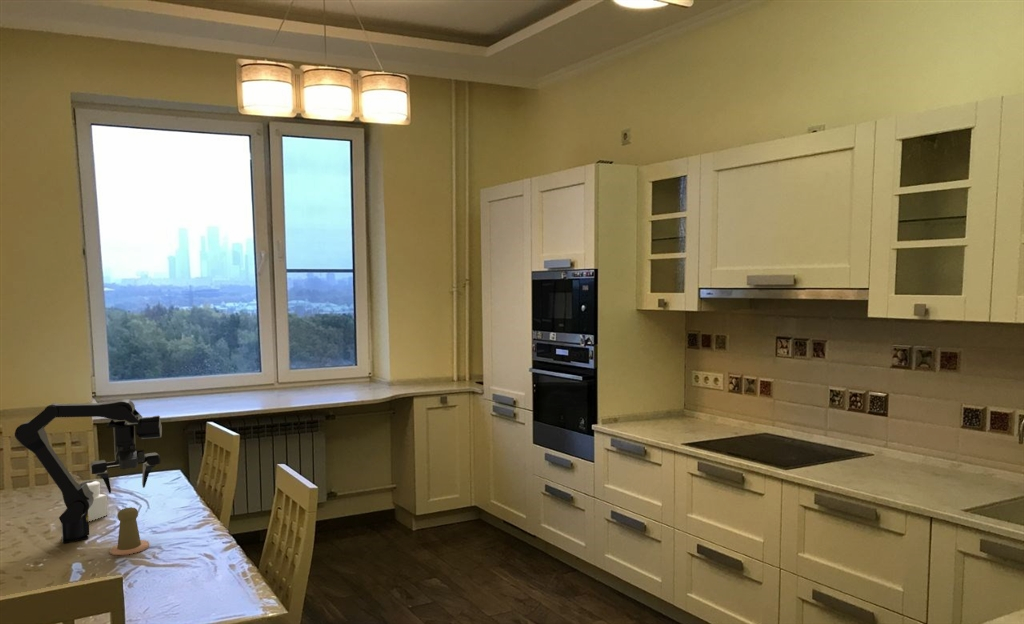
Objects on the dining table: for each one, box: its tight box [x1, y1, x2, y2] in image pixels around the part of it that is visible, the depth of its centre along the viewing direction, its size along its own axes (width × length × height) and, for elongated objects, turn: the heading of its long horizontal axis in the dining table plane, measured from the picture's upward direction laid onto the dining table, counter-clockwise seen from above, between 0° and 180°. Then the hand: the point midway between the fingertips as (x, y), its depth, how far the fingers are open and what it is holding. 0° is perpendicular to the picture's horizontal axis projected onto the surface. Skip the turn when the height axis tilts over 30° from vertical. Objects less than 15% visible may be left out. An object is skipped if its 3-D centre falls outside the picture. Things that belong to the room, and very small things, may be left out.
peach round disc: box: [109, 539, 150, 556], centre depth 202 cm, size 10×10×1 cm
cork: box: [117, 506, 141, 550], centre depth 202 cm, size 6×6×11 cm
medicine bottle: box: [79, 480, 108, 522], centre depth 231 cm, size 7×7×12 cm
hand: (127, 490), depth 216 cm, fingers open, 9 cm apart
